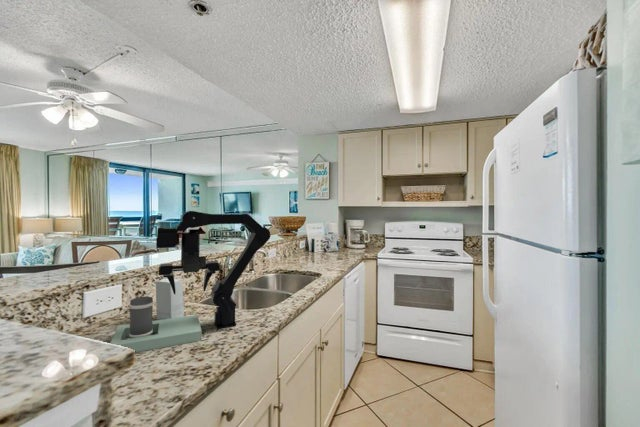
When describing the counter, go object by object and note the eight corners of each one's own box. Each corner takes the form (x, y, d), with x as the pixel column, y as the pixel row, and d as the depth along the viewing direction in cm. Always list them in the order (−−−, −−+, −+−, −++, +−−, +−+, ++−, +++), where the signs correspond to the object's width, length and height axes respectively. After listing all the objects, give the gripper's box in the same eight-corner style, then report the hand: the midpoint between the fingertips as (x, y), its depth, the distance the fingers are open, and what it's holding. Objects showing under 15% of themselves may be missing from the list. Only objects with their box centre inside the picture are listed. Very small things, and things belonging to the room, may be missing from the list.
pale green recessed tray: (197, 322, 104) (197, 314, 104) (201, 340, 90) (201, 330, 90) (117, 335, 93) (118, 325, 93) (108, 357, 79) (108, 346, 79)
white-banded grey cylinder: (157, 337, 92) (157, 297, 92) (141, 346, 86) (141, 303, 86) (141, 335, 93) (141, 295, 93) (124, 343, 87) (124, 301, 87)
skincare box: (184, 317, 109) (184, 279, 109) (170, 323, 104) (170, 282, 104) (168, 314, 113) (169, 276, 113) (154, 319, 107) (155, 280, 107)
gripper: (158, 251, 86) (157, 302, 86) (222, 248, 95) (221, 295, 95) (159, 247, 96) (158, 293, 96) (217, 245, 105) (217, 287, 105)
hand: (189, 292), depth 98 cm, fingers open, 9 cm apart
